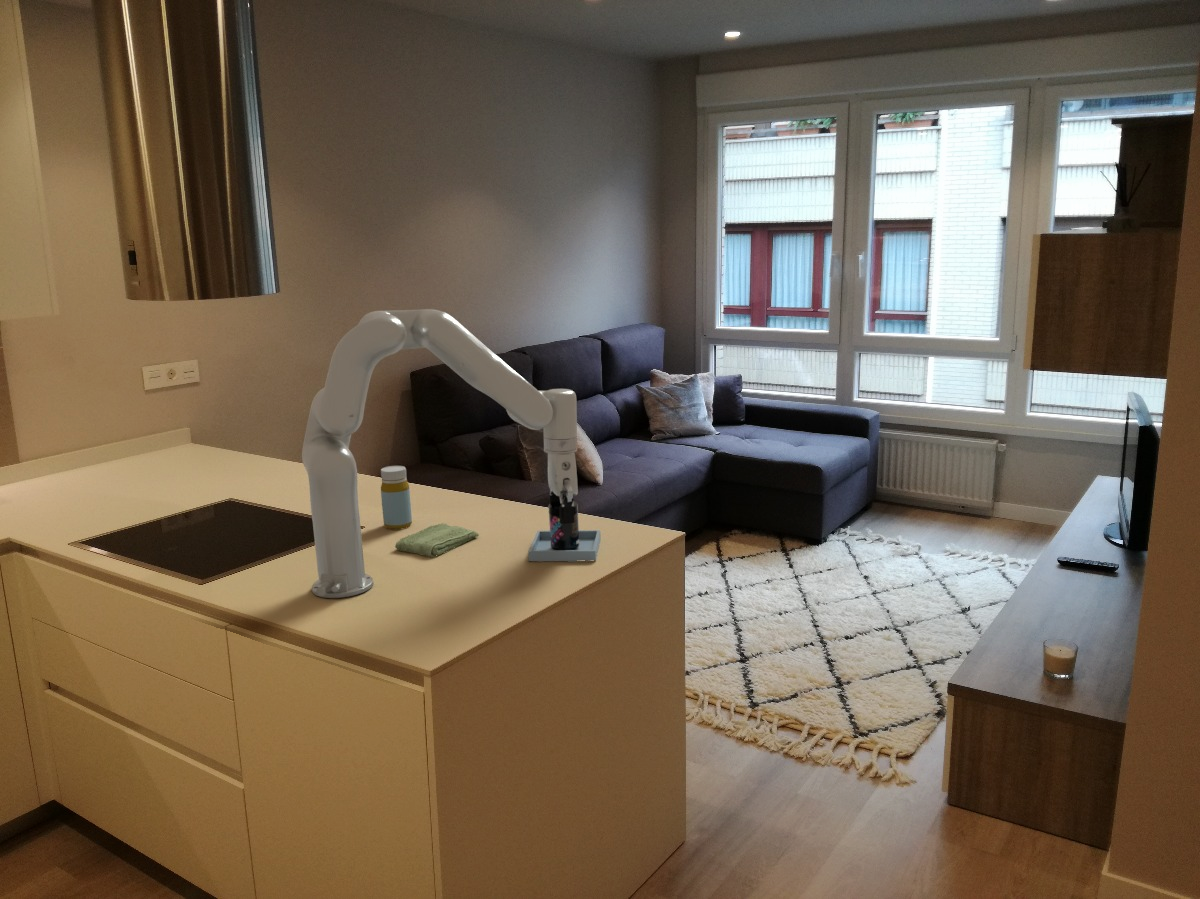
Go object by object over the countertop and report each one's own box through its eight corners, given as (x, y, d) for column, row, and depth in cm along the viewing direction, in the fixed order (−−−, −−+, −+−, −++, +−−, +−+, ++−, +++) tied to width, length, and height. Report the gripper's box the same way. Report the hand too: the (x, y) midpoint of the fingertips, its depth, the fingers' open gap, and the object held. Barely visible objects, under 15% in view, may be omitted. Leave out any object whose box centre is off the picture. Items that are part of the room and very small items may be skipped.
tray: (595, 561, 220) (595, 551, 220) (529, 561, 222) (528, 551, 221) (600, 539, 235) (600, 530, 234) (538, 540, 236) (537, 530, 236)
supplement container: (553, 543, 232) (550, 500, 229) (581, 543, 231) (579, 500, 229) (548, 552, 225) (546, 508, 223) (577, 553, 224) (575, 508, 222)
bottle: (405, 530, 247) (401, 472, 244) (379, 529, 249) (374, 472, 245) (416, 522, 254) (411, 465, 250) (390, 521, 255) (385, 465, 252)
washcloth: (481, 538, 240) (481, 525, 240) (434, 560, 226) (432, 547, 225) (440, 531, 247) (439, 519, 246) (391, 552, 233) (390, 539, 232)
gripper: (586, 451, 215) (587, 526, 219) (567, 435, 232) (568, 506, 235) (552, 453, 213) (554, 529, 217) (536, 437, 230) (537, 508, 233)
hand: (561, 517), depth 226 cm, fingers open, 9 cm apart
